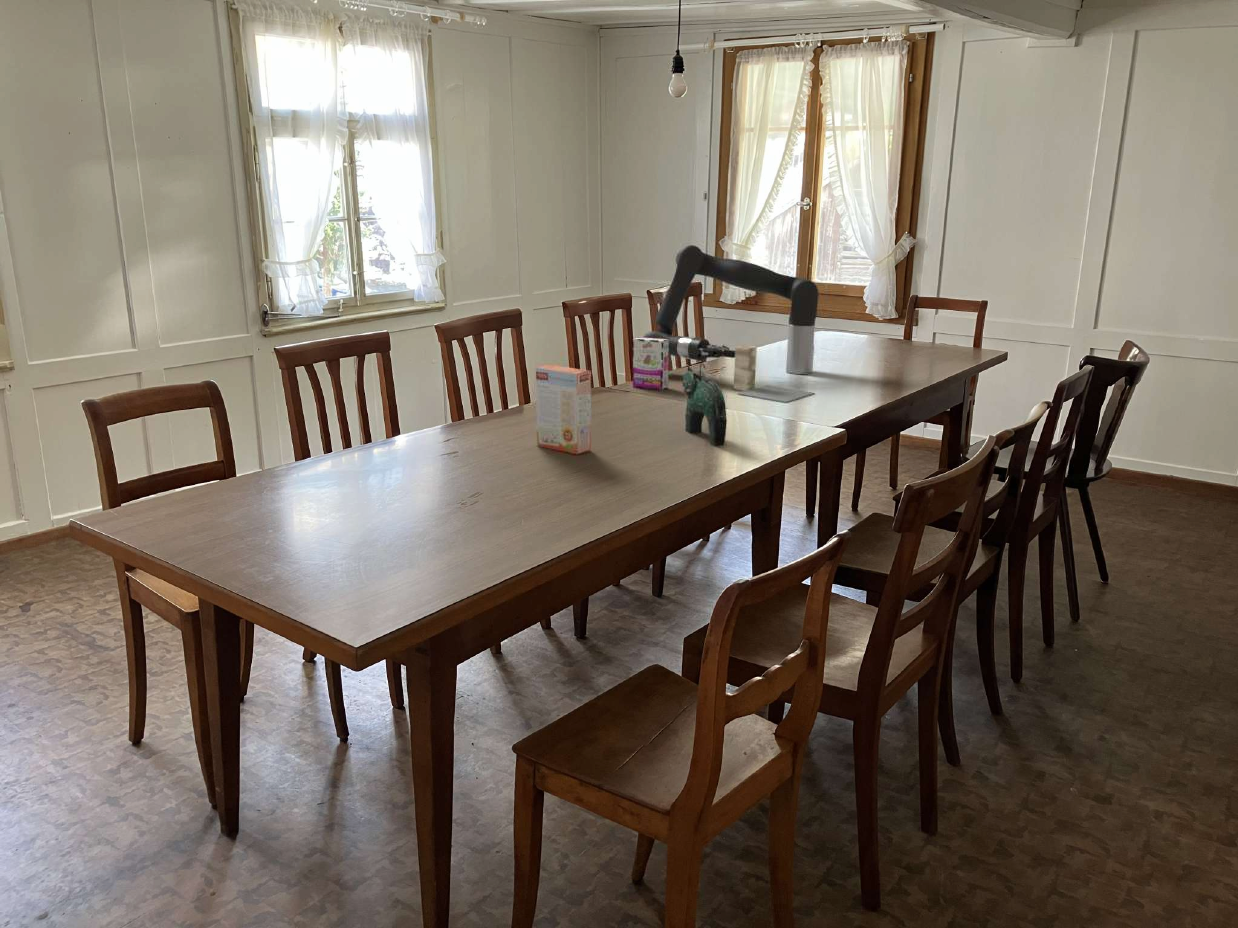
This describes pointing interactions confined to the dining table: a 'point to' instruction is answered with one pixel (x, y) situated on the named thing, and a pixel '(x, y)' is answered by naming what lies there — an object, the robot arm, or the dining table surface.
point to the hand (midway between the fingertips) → (735, 354)
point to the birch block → (745, 367)
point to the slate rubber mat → (776, 393)
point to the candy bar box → (650, 363)
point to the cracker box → (563, 408)
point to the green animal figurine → (704, 405)
